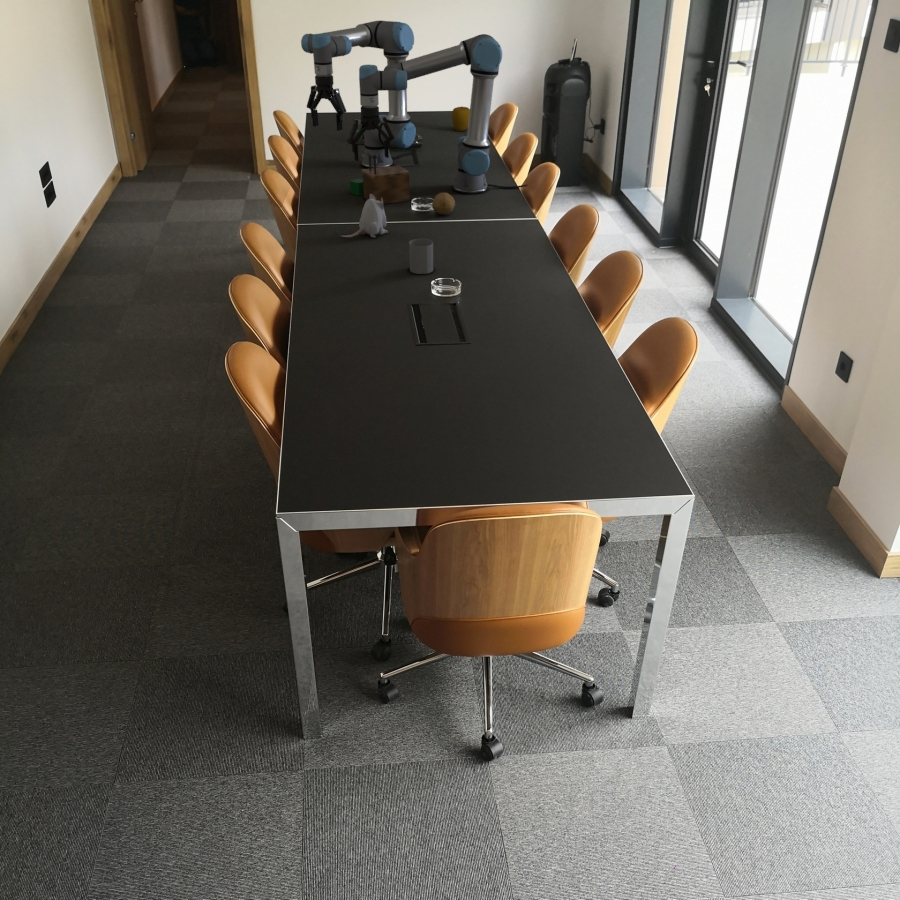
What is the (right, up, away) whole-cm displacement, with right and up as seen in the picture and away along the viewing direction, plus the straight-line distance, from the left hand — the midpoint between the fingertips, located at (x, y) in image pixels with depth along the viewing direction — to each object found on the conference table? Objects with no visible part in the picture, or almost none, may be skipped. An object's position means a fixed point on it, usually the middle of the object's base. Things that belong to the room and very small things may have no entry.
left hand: (327, 128), depth 372 cm
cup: (+42, -75, -64) cm, 107 cm away
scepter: (+15, +28, +95) cm, 100 cm away
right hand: (+19, -14, -4) cm, 24 cm away
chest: (+25, -28, +8) cm, 38 cm away
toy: (+19, -56, -35) cm, 69 cm away
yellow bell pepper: (+59, +42, +118) cm, 139 cm away
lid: (+25, -19, +2) cm, 31 cm away
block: (+12, -23, +15) cm, 30 cm away
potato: (+50, -40, -10) cm, 64 cm away
